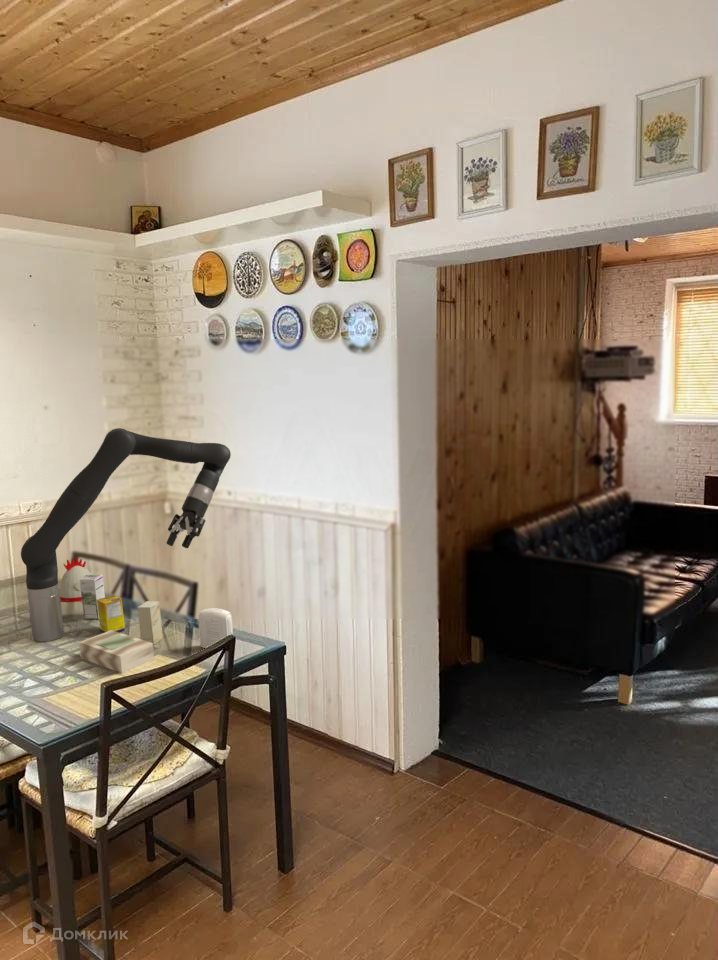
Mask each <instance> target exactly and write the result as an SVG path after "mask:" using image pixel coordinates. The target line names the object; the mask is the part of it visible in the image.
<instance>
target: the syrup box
mask: <svg viewBox="0 0 718 960" xmlns="http://www.w3.org/2000/svg"><path fill="white" fill-rule="evenodd" d="M80 588H81V596H82V601H81V604H82V612H83V619H84V620H99V614H98V605H97V599H101V598H105V597H106V595H105V587H104V575H103V574H91V575H85V576H84V577H82V578H81V579H80Z"/></svg>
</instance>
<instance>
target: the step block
mask: <svg viewBox="0 0 718 960" xmlns="http://www.w3.org/2000/svg"><path fill="white" fill-rule="evenodd" d="M78 643H79V645H78V646H79V653H80V659H83V660H85V661H87V662H90V663H93V664H96V665H98V666H101V667H103V668H104V667H105V668H107V669H109V670H111V671H115V672H118V673H120V674H123V673H126V672H129V671H131V670H133V669H135V668H137V667H138V668H139V667H140V666H143V665H145V664H146V663H150V662H151V661H153V660H155V654H154V653H155V652H154V645H153V643H151V642H148V641H145V640H141V638H138V637H134V636H131V635H129V634H126V633H122V632H116V631H113V630H110V631H108V632H105V633H103V632H101V633H100V634H97V635H95V636H92V637H90V638H87V639H84V640H82V641H79V642H78Z"/></svg>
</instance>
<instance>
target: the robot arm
mask: <svg viewBox="0 0 718 960" xmlns="http://www.w3.org/2000/svg"><path fill="white" fill-rule="evenodd" d="M231 453H232V452H231V450H230V449H229V447H228V446H227V445H225V444H222V443H218V442H217V443H216V442H194V441H185V440H180V439H179V440H177V439H170V438H169V439H168V438H160V437H153V436H148V435H144V434H143V435H142V434H140V433H135V432H133V431H129V430H127V429H125V428H121V427H119V428H118V427H117V428H113V429H111V430H109V431H108V432H107V433H106V435H105V437H104V439H103V441H102V443H101V445H100V447H99V448H98V450H97V452H95V455H94V456H93V458H92V459H91V461H90V462H89V463H88V464H87V465H86V466H85V467H84V468H83V469H82V470H81V471H80V472H79V473H78V474H77V475H76V476H75V477H74V478H73V479H72V481H71V482H70V483H69V484H68V485H67V486H66V488H65V489H64V491H63V492H62V493H61V494H60V495H59V498H58V499H57V501H56V502H55V504H54V506H53V508H52V509H51V511H50V513H49V515H48V516H47V518H46V519H45V521H44V523H43V524H42V525H41V527H40V528H39V529H38V530H37V531H36V532H35V533H34V534H33V535H31V536H30V537H29V538H27V540H26V541H25V542H24V544H22V547H21V550H20V557H21V561H22V562H23V564H24V565H25V568H26V569H25V570H26V574H25V575H26V576H25V577H26V578H25V582H26V583H25V584H26V590H27V591H26V592H27V598H28V606H29V608H28V611H29V619H30V620H29V621H30V626H31V628H30V629H31V636H32V638H33V639H32V640H33V641H34V640H37V641H36V642H38V641H45V642H52V641H55V640H59V639H60V638H62V637H63V636H64V635H65V630H64V627H65V626H64V619H63V611H62V603H61V602H62V601H60V593H59V587H60V584H59V579H58V578H59V569H58V560H57V551H56V550H57V548H58V547H59V546H60V544H61V542H62V541H63V540H64V538H66V537H65V536H66V535H68V533H69V532H70V531H71V530H72V529H73V528H74V527H75V526H76V525H77V524H78V522H80V521H81V519H82V518H84V515H86V513H87V512H88V511H89V509H90V508H91V507H92V505H93V504H94V503H95V501H96V500H97V498H98V497H99V496H100V494H101V492H102V491H103V490H104V487H105V486H106V484H107V483H108V481H109V479H110V477H111V476H112V474H114V472H115V471H116V470H117V469H118V468H119V467H120V465H121V464H122V463H124V461H126V459H128V457H129V456H140V455H141V456H148V457H155V458H159V459H162V460H166V461H170V462H176V463H183V464H191V465H193V464H194V465H195V464H198V463H202V468H201V470H200V471H199V472H198V474H197V476H196V478H195V480H194V482H193V485H192V486H191V488H190V489H189V490H188V491H189V492H188V493H187V496H186V497H185V500H184V502H183V504H182V506H181V510H182V513H181V515H180V514H178V513H176V514H175V515H174V517H173V518H172V521H170V524H169V526H168V528H167V531H169V532H170V534H169V536H168V538H167V540H166V545H168V546H170V547H172V546H174V544H175V542H176V540H177V538H178V535H179V534H180V533H181V532H184V531H186V532H187V534H186V535H185V537H184V540H183V541H182V544H181V546H182V548H185V549H189V547H190V546H191V543H192V541H193V539H195V538H196V537H197V538H198V537H200V535H201V532H202V530H203V528H204V526H205V523H206V519H205V515H206V513H207V511H208V508H209V506H210V504H211V501H212V500H213V496H214V493H215V491H216V488H217V486H218V484H219V482H220V477H221V476H222V474H223V472H224V469H225V468H226V466H227V464H228V462H229V461H230V459H231V455H232V454H231Z"/></svg>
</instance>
